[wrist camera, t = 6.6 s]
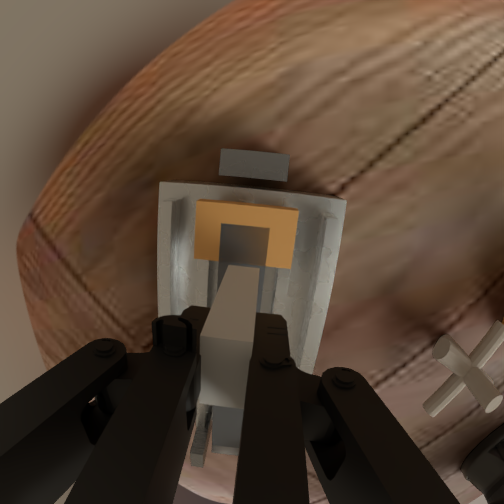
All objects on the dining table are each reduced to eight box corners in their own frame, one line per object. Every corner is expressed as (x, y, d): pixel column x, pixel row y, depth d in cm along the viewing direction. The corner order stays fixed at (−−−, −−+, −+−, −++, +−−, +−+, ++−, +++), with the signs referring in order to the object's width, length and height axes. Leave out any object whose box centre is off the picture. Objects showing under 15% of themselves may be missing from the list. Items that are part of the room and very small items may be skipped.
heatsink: (293, 412, 27) (297, 475, 19) (174, 398, 27) (152, 457, 19) (339, 165, 21) (379, 164, 13) (175, 149, 21) (129, 141, 13)
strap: (256, 447, 22) (255, 460, 20) (199, 440, 22) (196, 452, 21) (296, 207, 15) (299, 212, 14) (201, 197, 16) (195, 201, 14)
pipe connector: (380, 360, 25) (418, 436, 15) (450, 276, 22) (519, 328, 13) (433, 392, 26) (470, 454, 16) (492, 324, 24) (545, 373, 14)
